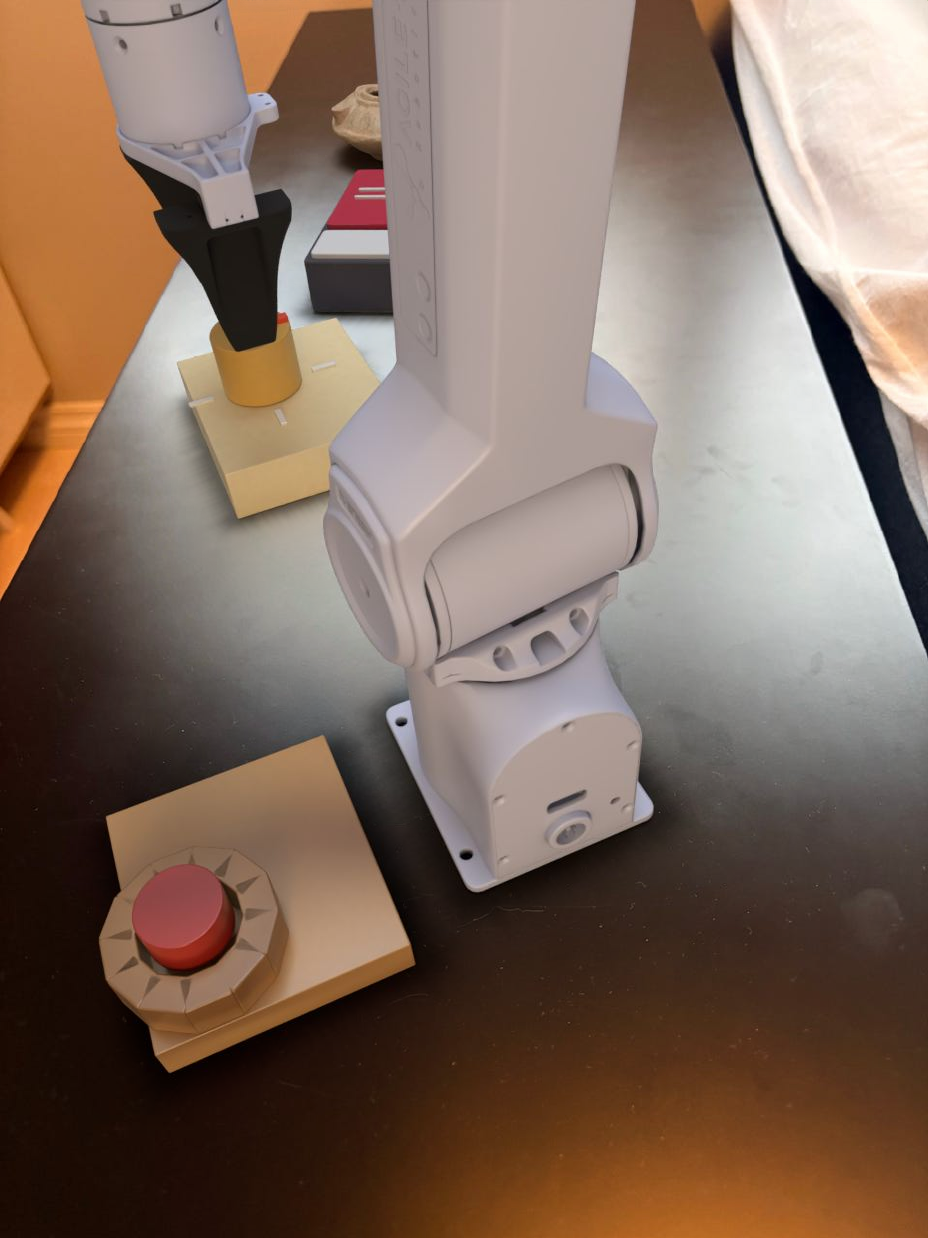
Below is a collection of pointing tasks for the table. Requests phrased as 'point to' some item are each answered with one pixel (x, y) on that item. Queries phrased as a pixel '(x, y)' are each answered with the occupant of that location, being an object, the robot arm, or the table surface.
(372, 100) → the pottery oil lamp
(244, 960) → the button base
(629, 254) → the table surface
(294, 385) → the dimmer knob
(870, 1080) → the table surface
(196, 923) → the power button
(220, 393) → the panel
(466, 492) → the robot arm
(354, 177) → the calculator
